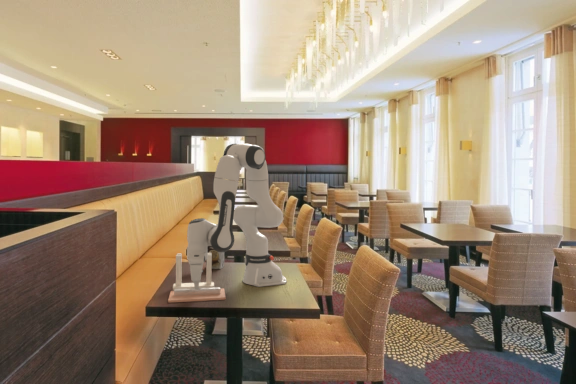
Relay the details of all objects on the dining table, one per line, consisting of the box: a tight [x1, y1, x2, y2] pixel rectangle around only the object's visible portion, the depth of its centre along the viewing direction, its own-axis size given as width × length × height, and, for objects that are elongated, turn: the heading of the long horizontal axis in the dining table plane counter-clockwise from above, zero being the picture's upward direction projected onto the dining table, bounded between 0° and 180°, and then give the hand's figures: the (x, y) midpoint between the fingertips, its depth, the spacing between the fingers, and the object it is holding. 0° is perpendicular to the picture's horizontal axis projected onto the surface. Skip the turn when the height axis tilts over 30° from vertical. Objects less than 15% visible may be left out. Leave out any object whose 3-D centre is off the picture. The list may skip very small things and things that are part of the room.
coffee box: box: [205, 246, 225, 270], centre depth 210 cm, size 9×6×16 cm
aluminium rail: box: [173, 286, 222, 296], centre depth 162 cm, size 20×2×2 cm, turn 103°
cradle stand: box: [172, 253, 215, 291], centre depth 174 cm, size 19×6×16 cm, turn 103°
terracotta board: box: [167, 287, 227, 304], centre depth 163 cm, size 24×12×1 cm, turn 103°
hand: (197, 285), depth 163 cm, fingers open, 8 cm apart
